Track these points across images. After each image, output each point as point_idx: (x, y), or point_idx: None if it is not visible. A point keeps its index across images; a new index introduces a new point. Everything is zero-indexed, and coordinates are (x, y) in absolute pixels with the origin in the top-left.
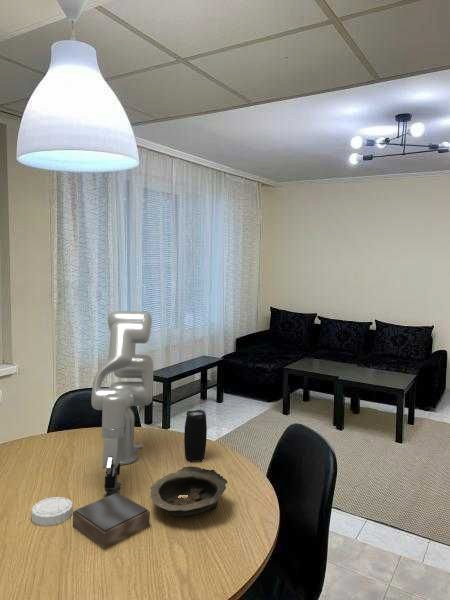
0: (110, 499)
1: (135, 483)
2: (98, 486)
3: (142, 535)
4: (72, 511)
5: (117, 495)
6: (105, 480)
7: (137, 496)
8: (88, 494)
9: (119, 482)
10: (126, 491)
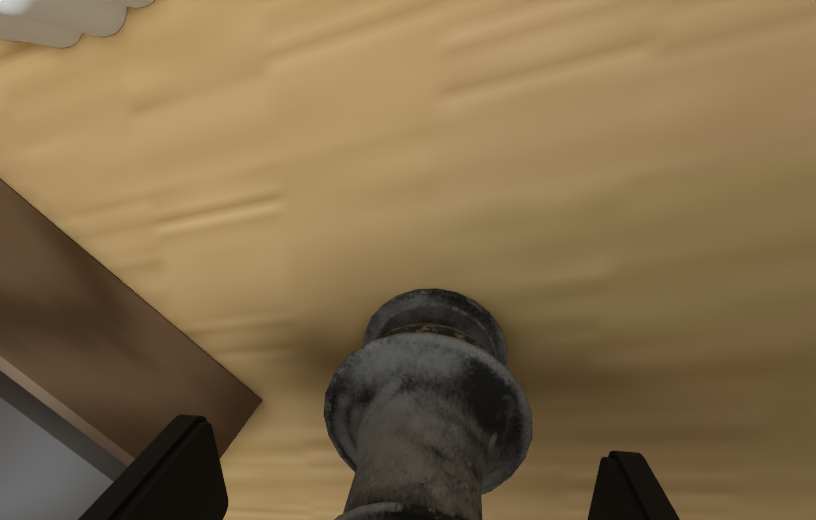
0: (7, 460)
1: None
2: (655, 198)
3: None
4: (91, 34)
5: None
6: (93, 513)
7: None
8: (466, 119)
9: (485, 489)
10: None
